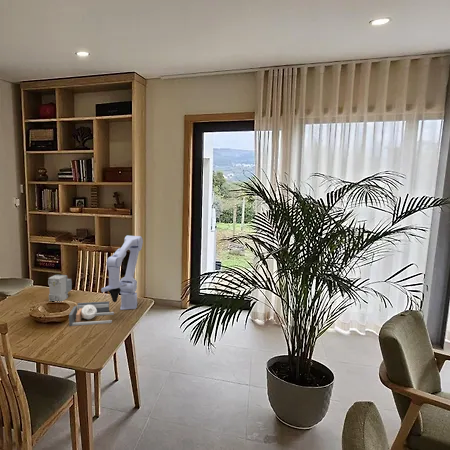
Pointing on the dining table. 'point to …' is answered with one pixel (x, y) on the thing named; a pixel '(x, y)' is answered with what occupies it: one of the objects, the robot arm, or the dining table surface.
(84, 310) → the white rounded piece
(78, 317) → the tan rectangular box
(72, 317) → the rail mount
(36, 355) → the dining table surface
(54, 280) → the circuit breaker
